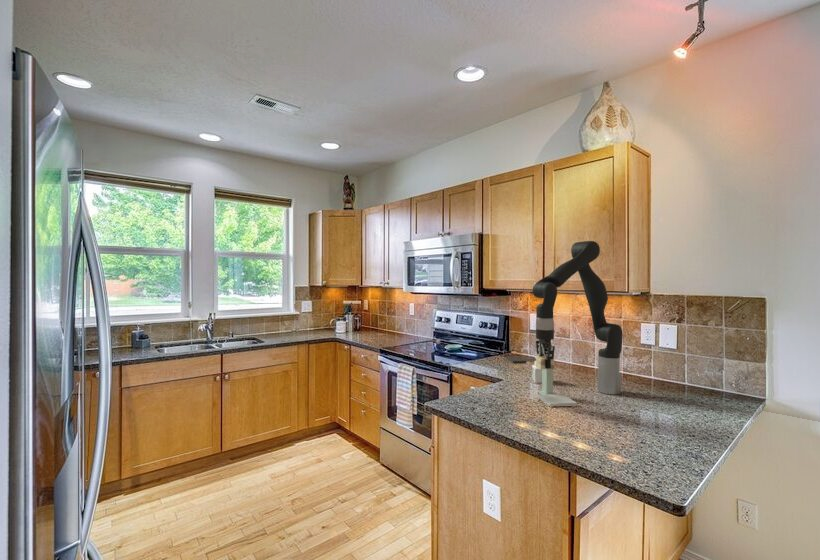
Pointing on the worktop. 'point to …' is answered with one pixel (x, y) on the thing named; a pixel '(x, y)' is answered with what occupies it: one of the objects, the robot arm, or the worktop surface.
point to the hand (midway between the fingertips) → (544, 366)
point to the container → (536, 374)
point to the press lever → (519, 359)
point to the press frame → (548, 393)
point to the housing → (543, 362)
